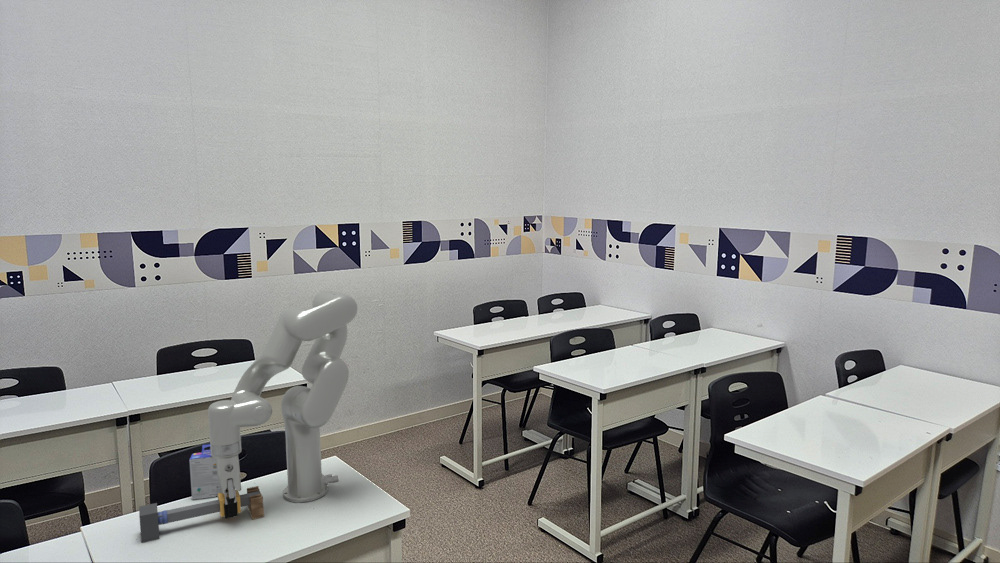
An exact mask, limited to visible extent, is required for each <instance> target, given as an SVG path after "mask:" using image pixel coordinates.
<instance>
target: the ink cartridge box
mask: <svg viewBox="0 0 1000 563" xmlns="http://www.w3.org/2000/svg"><path fill="white" fill-rule="evenodd" d="M206 448H209V449H206ZM188 462H189V475H190V477H189V478H190V489H191V500H192V501H193V499H194V500H200V499H209V498H215V497H216V496H217V497H218V493H222V492H221V489H220V486H219V481H218V475H217V465H216V458H214V457H212V456H211V449H210V443H209V444H202V446H201V452H195V453H192V454H191V455H190V458H189V460H188Z"/></svg>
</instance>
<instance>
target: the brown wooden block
mask: <svg viewBox="0 0 1000 563" xmlns="http://www.w3.org/2000/svg"><path fill="white" fill-rule="evenodd" d="M257 491H260V487H259V485H257V486H252V487H247V488H246V494H247V493H252V492H257ZM260 492H261V491H260ZM247 509H248V512H249V514H250V516H251V520H257V519H261V518H262V519H263V518H264V517H265V510H264V509H265V508H264V496H263V494H262V493H261V494H258V495H253V496H250V505H249V506H247Z"/></svg>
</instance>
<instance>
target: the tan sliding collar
mask: <svg viewBox="0 0 1000 563" xmlns="http://www.w3.org/2000/svg"><path fill="white" fill-rule="evenodd" d="M235 491H236V501H237V509H238V514H241V513H242V509H241V508H242V507H241V503H240V495H241V494H240V491H237V490H236V489H235ZM227 492H228V491H227ZM227 497H229V494H228V495H227ZM217 500H219V502H220V512H219V515H220V518H223V517H225V515H224V504H225V498H224V494H222V493H218V496H217Z"/></svg>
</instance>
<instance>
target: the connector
mask: <svg viewBox="0 0 1000 563" xmlns="http://www.w3.org/2000/svg"><path fill="white" fill-rule="evenodd" d="M138 509H139V512H138V513H139V528H140V538H141V539H140V541H141V543H142V544H143V543H146V542H152V541H156V540H159V539H160V538H161V537H160V525H158V524H161V523H163V516H162V517H158V516H159V515H163V512H161V511H158V503H157V502H155V503H149V504H145V505H140V506H138Z"/></svg>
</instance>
